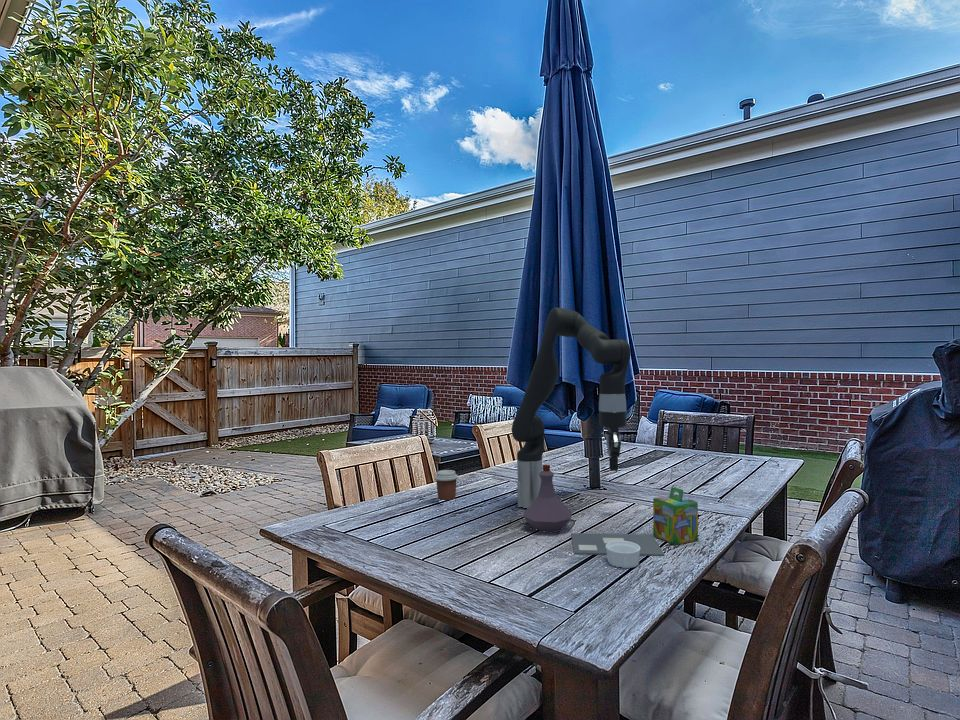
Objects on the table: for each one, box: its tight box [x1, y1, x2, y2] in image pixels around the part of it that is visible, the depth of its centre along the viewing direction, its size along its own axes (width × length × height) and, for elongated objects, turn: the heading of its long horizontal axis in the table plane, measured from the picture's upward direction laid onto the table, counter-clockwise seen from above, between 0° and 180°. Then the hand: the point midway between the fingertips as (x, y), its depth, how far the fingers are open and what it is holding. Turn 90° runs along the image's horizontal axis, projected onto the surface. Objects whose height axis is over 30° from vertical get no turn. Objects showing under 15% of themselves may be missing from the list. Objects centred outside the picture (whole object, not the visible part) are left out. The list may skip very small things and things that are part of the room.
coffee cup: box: [433, 469, 459, 501], centre depth 194 cm, size 9×9×12 cm
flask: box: [522, 464, 573, 533], centre depth 162 cm, size 16×16×20 cm
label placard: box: [570, 532, 666, 557], centre depth 146 cm, size 24×16×1 cm, turn 83°
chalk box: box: [652, 486, 699, 546], centre depth 150 cm, size 9×9×15 cm
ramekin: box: [606, 541, 641, 569], centre depth 133 cm, size 9×9×4 cm
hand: (613, 470), depth 144 cm, fingers closed
